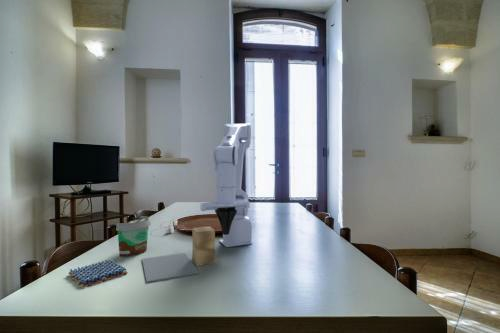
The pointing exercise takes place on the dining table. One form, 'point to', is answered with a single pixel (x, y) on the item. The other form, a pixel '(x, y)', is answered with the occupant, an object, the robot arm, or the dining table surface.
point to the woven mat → (96, 273)
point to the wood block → (203, 245)
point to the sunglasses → (171, 225)
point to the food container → (133, 236)
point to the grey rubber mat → (168, 267)
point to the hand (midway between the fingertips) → (225, 233)
